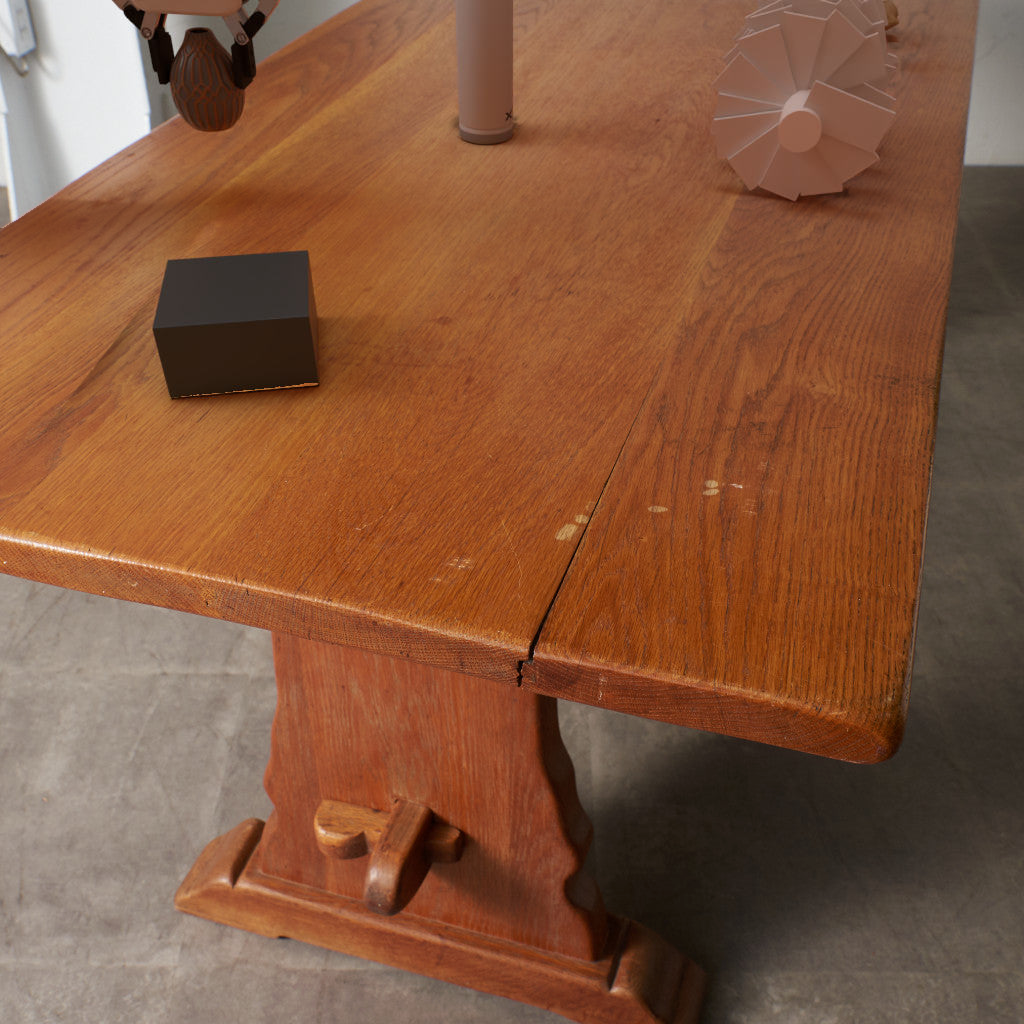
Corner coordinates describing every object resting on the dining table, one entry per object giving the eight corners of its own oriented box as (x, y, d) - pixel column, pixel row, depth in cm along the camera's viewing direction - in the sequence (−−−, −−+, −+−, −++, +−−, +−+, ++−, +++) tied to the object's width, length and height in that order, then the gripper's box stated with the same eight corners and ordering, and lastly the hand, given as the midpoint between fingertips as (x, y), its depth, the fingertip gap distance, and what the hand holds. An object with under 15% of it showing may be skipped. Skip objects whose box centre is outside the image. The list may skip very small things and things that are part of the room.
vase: (249, 136, 98) (236, 39, 92) (175, 139, 96) (157, 41, 91) (249, 112, 103) (236, 20, 97) (179, 115, 102) (162, 21, 96)
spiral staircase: (735, 241, 105) (757, 145, 123) (913, 187, 97) (909, 93, 114) (675, 72, 96) (708, -5, 113) (867, -4, 87) (870, -75, 105)
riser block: (170, 399, 75) (151, 328, 71) (183, 326, 83) (167, 259, 80) (319, 386, 76) (309, 315, 73) (317, 316, 85) (308, 249, 81)
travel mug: (524, 139, 117) (526, -56, 104) (472, 148, 115) (467, -50, 102) (501, 122, 121) (500, -66, 108) (451, 131, 119) (444, -61, 106)
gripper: (53, -134, 83) (103, 89, 95) (259, -125, 82) (284, 100, 94) (92, -146, 89) (134, 66, 101) (284, -137, 88) (305, 76, 99)
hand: (206, 81), depth 97 cm, fingers closed on vase, 6 cm apart
